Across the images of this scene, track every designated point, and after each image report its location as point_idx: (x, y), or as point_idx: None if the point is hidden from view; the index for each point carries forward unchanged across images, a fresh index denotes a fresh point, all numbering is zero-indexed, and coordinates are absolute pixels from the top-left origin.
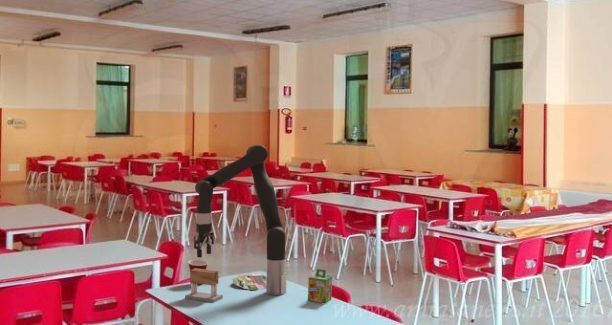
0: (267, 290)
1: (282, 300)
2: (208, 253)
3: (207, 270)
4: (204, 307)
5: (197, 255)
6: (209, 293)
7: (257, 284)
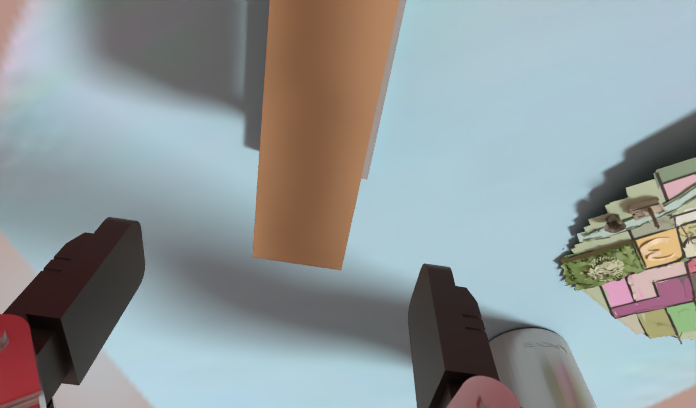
0: (501, 348)
1: (398, 392)
2: (417, 291)
3: (331, 177)
4: (149, 135)
5: (70, 248)
6: (385, 86)
7: (667, 276)
